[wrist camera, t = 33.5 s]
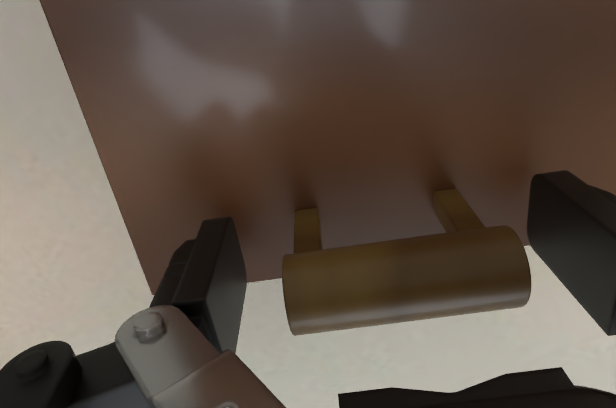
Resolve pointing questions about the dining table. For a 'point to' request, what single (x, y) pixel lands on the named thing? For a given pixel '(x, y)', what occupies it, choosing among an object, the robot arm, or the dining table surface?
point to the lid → (346, 138)
